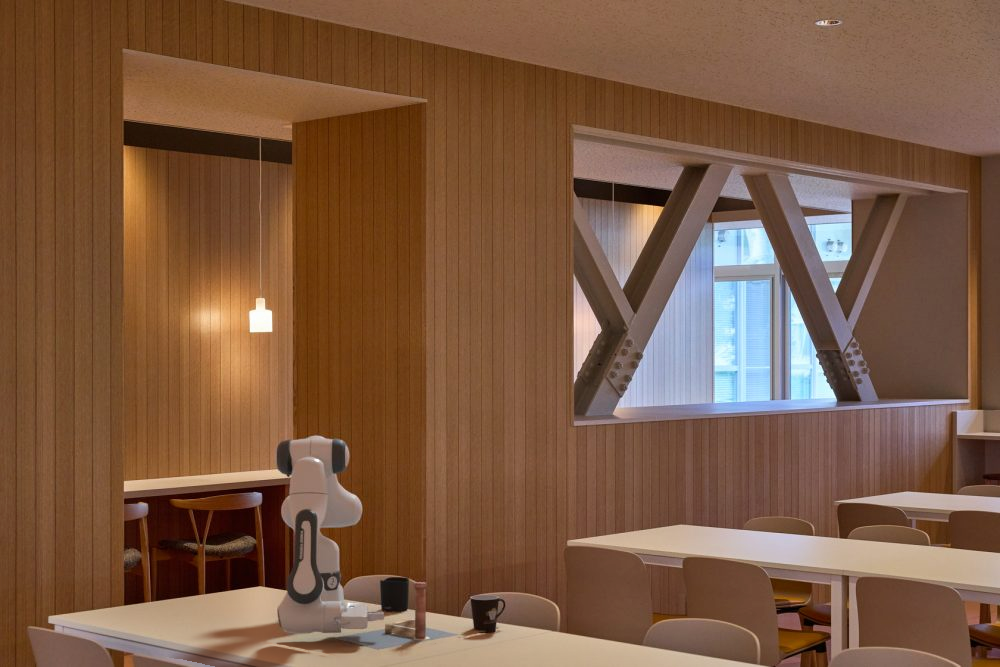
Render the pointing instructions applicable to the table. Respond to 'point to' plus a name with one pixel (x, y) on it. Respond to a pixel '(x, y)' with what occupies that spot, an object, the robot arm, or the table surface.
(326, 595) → the robot arm
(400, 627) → the brown wooden l-shaped piece
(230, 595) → the table surface
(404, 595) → the pen holder
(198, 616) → the table surface
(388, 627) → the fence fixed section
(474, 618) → the coffee mug
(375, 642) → the board
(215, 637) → the table surface
